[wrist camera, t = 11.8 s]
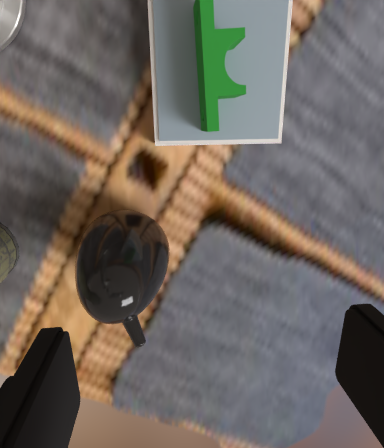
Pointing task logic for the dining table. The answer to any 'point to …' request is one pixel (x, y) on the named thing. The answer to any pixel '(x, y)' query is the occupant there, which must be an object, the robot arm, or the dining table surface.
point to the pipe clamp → (213, 63)
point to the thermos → (7, 252)
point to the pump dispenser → (121, 268)
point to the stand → (235, 67)
